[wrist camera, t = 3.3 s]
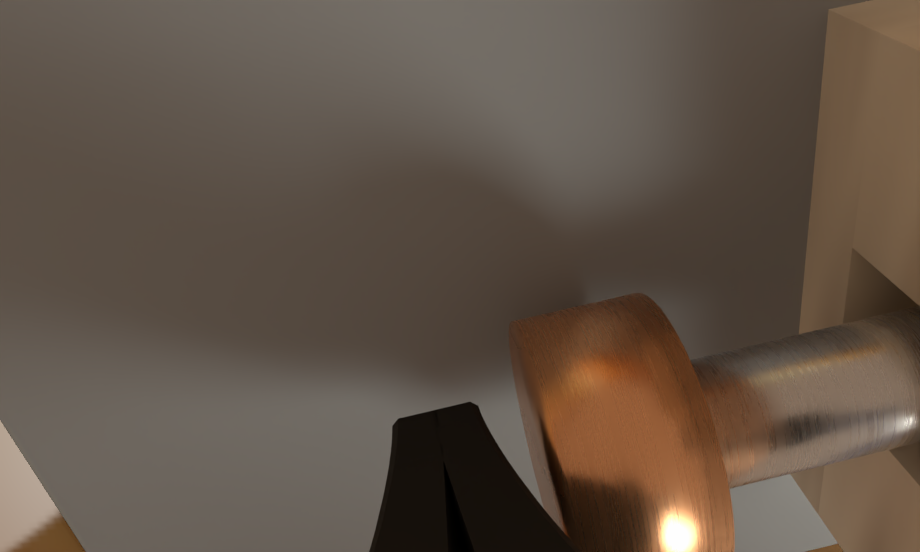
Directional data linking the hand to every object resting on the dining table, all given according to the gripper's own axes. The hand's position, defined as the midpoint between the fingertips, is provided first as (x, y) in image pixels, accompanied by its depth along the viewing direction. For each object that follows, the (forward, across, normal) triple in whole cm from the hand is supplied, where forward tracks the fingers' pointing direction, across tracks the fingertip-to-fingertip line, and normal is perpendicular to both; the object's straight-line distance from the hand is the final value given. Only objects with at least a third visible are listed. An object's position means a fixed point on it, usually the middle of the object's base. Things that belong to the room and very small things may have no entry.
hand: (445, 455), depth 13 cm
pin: (+2, -6, 0) cm, 7 cm away
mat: (+2, -5, 0) cm, 5 cm away
